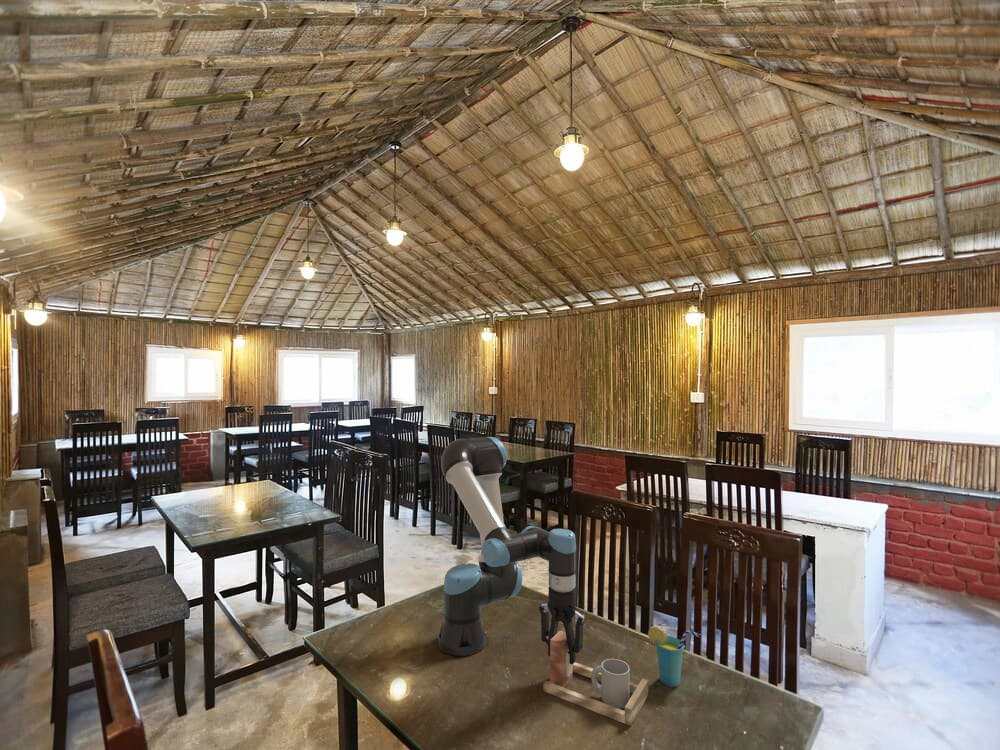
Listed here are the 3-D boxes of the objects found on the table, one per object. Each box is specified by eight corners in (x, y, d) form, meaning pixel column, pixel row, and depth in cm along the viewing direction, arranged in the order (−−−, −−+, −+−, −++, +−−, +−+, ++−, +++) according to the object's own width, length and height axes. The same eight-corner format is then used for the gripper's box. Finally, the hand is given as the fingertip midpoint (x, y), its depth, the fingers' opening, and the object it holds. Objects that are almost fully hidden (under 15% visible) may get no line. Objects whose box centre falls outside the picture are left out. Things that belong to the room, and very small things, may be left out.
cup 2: (699, 679, 137) (699, 625, 137) (701, 695, 130) (701, 639, 130) (647, 668, 142) (648, 617, 142) (646, 684, 135) (646, 629, 135)
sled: (543, 691, 131) (543, 646, 131) (565, 665, 143) (566, 624, 143) (631, 726, 118) (631, 676, 118) (647, 695, 130) (648, 649, 130)
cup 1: (626, 713, 123) (626, 677, 123) (587, 701, 127) (587, 667, 127) (632, 696, 129) (632, 663, 129) (595, 686, 134) (595, 653, 134)
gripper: (528, 584, 138) (528, 667, 138) (585, 599, 129) (584, 689, 128) (541, 575, 144) (540, 655, 144) (596, 589, 135) (595, 675, 134)
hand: (561, 671), depth 136 cm, fingers closed on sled, 4 cm apart
